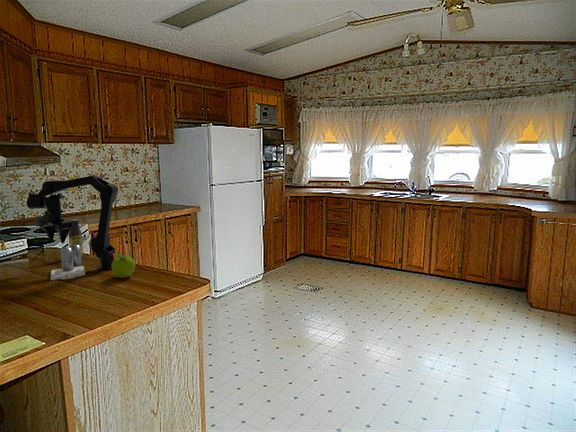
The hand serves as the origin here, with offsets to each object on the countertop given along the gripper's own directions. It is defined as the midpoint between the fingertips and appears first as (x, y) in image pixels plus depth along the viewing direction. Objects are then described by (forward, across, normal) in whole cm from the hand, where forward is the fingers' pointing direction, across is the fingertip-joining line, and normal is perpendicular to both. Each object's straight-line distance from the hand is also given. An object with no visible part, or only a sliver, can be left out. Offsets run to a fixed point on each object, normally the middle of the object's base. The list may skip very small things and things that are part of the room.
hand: (56, 242), depth 185 cm
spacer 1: (+11, +10, -2) cm, 15 cm away
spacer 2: (+13, 0, +8) cm, 16 cm away
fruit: (+13, +37, +7) cm, 40 cm away
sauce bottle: (+13, -16, +18) cm, 28 cm away
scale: (+13, +11, -2) cm, 17 cm away
